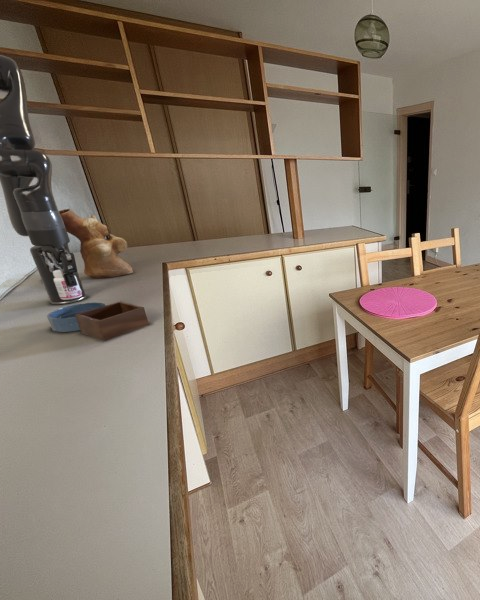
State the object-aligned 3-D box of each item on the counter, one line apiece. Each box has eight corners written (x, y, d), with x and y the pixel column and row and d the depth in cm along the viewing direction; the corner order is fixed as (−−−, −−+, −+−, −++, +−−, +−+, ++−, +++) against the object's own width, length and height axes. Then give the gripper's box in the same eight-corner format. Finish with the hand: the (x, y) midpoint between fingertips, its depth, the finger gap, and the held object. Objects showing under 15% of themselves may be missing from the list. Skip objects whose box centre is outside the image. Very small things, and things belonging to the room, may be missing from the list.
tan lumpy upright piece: (140, 273, 148) (121, 208, 137) (78, 285, 131) (51, 211, 120) (126, 268, 156) (107, 205, 145) (66, 278, 139) (39, 208, 128)
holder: (81, 333, 92) (74, 314, 90) (126, 318, 102) (120, 301, 100) (105, 340, 88) (98, 321, 86) (149, 324, 98) (144, 307, 96)
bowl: (43, 327, 94) (37, 314, 93) (95, 312, 106) (91, 300, 104) (67, 336, 90) (61, 322, 88) (119, 319, 101) (115, 306, 100)
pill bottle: (68, 300, 92) (58, 273, 89) (56, 299, 93) (45, 271, 90) (86, 295, 97) (77, 269, 93) (74, 293, 97) (65, 267, 94)
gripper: (77, 227, 88) (96, 284, 94) (50, 223, 93) (70, 278, 99) (41, 231, 81) (64, 292, 88) (13, 226, 86) (37, 284, 93)
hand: (67, 284), depth 93 cm, fingers closed on pill bottle, 4 cm apart
